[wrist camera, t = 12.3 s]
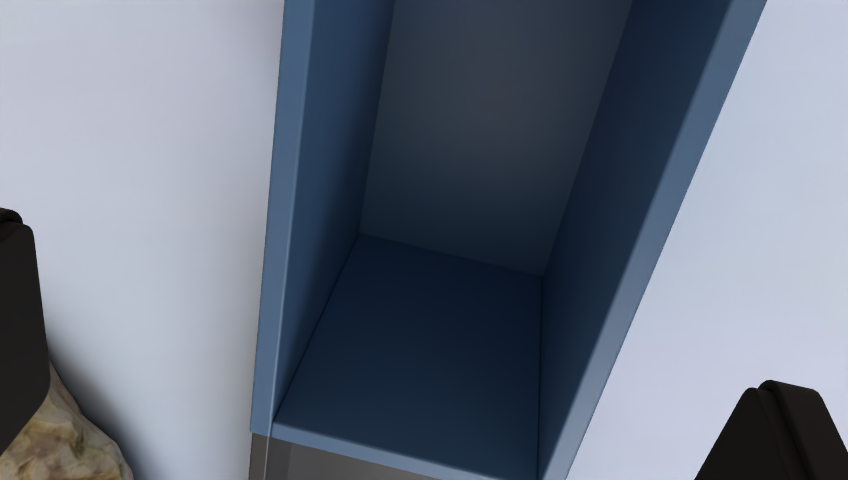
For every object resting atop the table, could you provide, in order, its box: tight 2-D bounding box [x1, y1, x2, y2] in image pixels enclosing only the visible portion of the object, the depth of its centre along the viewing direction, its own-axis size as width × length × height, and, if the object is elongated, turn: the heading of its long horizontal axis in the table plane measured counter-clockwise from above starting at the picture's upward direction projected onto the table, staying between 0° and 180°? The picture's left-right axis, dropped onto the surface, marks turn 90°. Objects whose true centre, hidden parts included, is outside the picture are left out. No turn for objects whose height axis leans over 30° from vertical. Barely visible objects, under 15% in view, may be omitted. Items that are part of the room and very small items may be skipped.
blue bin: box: [250, 0, 767, 480], centre depth 17 cm, size 12×7×9 cm, turn 170°
